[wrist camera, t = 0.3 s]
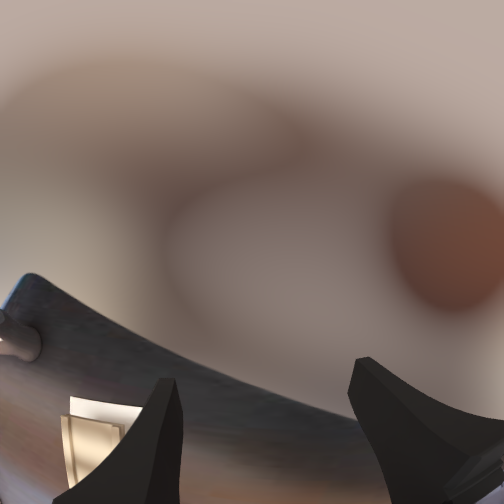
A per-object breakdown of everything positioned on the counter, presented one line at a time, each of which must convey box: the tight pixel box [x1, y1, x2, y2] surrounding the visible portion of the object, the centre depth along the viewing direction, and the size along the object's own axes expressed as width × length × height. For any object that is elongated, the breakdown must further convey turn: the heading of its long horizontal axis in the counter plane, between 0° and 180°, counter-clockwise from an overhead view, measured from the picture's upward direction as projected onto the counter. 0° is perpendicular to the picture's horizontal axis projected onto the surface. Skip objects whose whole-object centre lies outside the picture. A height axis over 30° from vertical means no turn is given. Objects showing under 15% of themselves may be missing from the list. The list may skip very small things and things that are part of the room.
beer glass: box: [0, 307, 42, 362], centre depth 32 cm, size 7×7×15 cm
